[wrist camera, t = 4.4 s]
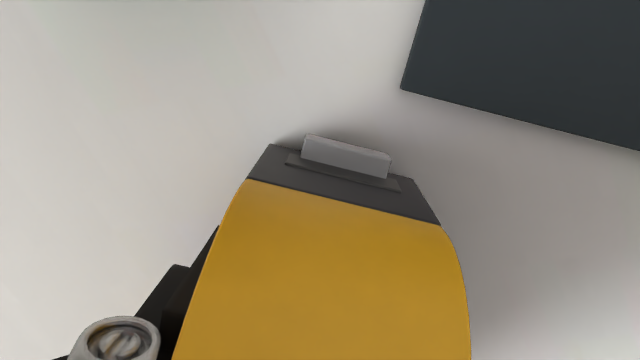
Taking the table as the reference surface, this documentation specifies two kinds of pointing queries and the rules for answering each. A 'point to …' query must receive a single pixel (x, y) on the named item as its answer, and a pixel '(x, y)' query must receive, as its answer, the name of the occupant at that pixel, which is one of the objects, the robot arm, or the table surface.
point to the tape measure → (327, 266)
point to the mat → (535, 62)
